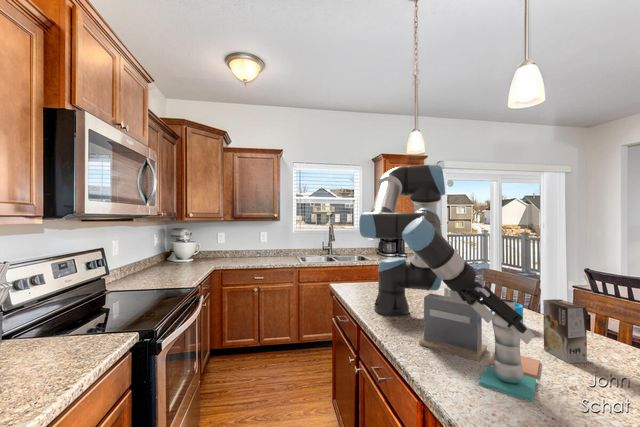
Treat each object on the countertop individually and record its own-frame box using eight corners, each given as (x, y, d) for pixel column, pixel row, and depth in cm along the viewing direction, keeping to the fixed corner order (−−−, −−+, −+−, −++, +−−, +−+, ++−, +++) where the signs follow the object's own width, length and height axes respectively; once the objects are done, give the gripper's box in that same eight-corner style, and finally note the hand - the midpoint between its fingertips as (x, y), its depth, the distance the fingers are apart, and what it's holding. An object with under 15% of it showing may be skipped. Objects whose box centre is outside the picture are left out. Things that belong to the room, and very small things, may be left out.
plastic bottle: (514, 390, 71) (512, 305, 72) (487, 376, 77) (486, 299, 78) (529, 383, 74) (528, 302, 75) (502, 371, 80) (501, 296, 81)
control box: (419, 344, 99) (419, 297, 99) (429, 335, 106) (429, 291, 107) (479, 361, 87) (480, 308, 87) (486, 350, 95) (486, 301, 95)
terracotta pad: (489, 365, 85) (489, 362, 85) (496, 351, 94) (496, 349, 94) (536, 378, 78) (536, 375, 78) (539, 362, 87) (539, 360, 87)
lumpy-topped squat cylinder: (441, 300, 152) (441, 283, 152) (466, 299, 154) (466, 282, 154) (452, 306, 142) (452, 287, 142) (478, 305, 143) (478, 287, 143)
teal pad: (478, 384, 75) (478, 381, 75) (487, 367, 84) (487, 364, 84) (532, 402, 68) (532, 398, 68) (536, 381, 77) (536, 378, 77)
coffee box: (588, 362, 87) (588, 307, 87) (568, 363, 87) (568, 307, 87) (560, 349, 96) (560, 298, 96) (542, 349, 96) (542, 299, 96)
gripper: (497, 268, 63) (562, 337, 64) (438, 253, 88) (486, 303, 89) (473, 294, 62) (539, 363, 64) (420, 271, 87) (469, 321, 88)
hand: (508, 328), depth 76 cm, fingers open, 13 cm apart
